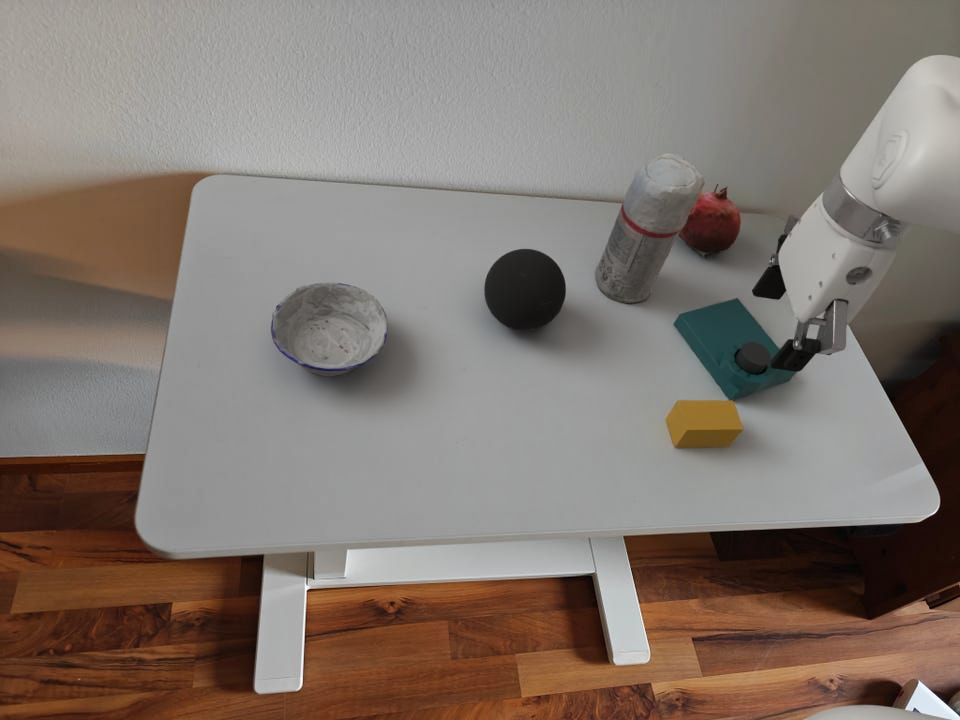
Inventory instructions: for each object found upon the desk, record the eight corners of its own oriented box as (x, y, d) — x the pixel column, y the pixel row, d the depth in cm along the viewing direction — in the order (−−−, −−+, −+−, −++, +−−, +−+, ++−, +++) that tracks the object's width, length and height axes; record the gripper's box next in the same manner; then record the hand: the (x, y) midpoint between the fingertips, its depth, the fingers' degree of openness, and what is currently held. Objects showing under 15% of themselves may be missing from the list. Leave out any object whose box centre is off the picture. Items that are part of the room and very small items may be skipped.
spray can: (643, 315, 97) (703, 199, 81) (585, 292, 98) (634, 173, 82) (656, 275, 102) (715, 159, 87) (601, 254, 103) (650, 135, 87)
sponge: (718, 418, 89) (733, 400, 86) (729, 447, 86) (744, 429, 83) (665, 418, 87) (677, 400, 84) (674, 447, 85) (687, 429, 82)
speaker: (499, 276, 97) (514, 220, 89) (566, 309, 96) (587, 255, 88) (464, 323, 91) (477, 267, 83) (535, 359, 90) (555, 306, 82)
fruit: (705, 274, 104) (735, 222, 96) (654, 236, 107) (679, 182, 100) (739, 249, 109) (770, 197, 101) (689, 212, 112) (716, 160, 104)
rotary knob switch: (793, 385, 94) (809, 367, 91) (731, 406, 90) (746, 388, 87) (730, 308, 101) (743, 288, 98) (671, 324, 97) (683, 305, 94)
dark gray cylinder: (769, 370, 90) (777, 360, 88) (746, 378, 89) (754, 368, 87) (751, 348, 92) (759, 338, 90) (729, 355, 90) (736, 345, 89)
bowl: (276, 399, 80) (273, 373, 76) (270, 311, 88) (268, 283, 84) (393, 389, 83) (396, 364, 80) (378, 305, 91) (380, 278, 87)
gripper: (945, 284, 57) (828, 404, 71) (881, 149, 68) (790, 276, 81) (856, 270, 57) (755, 394, 70) (805, 136, 67) (726, 266, 81)
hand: (774, 330), depth 76 cm, fingers open, 9 cm apart
